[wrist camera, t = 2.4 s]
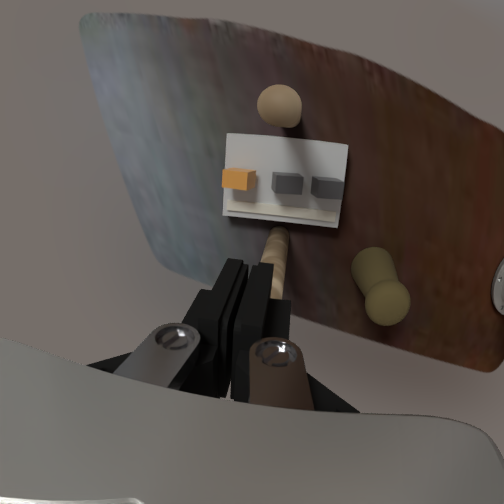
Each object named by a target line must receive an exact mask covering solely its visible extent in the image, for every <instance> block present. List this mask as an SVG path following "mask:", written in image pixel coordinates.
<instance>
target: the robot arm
mask: <svg viewBox="0 0 504 504" xmlns="http://www.w3.org/2000/svg"><path fill="white" fill-rule="evenodd" d="M273 270H274V264H272V263H264V262H259V264H258V266H256V265H253V266H252V269H251V272H250V275H249V278H248V265H247V264H243V260H239V259H230V258H228V259H227V261H226V263H225V265H224V267H223V269H222V271H221V273H220V275H219V277H218V279H217V281H216V283H215V285H214V287H213V288H212V290H205V289H201V290H200V291H199V293H198V294H197V296H196V298H195V300H194V301H193V303H192V305H191V307H190V309H189V310H188V312H187V314H186V316H185V317H184V319H183V321H182V323H168V324H164V325H161V326H159V327H157V328H156V329H155V330H153V331H152V332H151V333H150V334H149V335H148V337H147V338H146V339H145V340H144V341H143V342H142V343H141V344H140V345H139V346H138V347H137V348H136V349H135V350H134V351H133V352H130V353H127V354H124V355H120V356H117V357H113V358H110V359H106V360H103V361H99V362H96V363H92V364H89V365H86V366H85V365H82V364H79V363H76V362H73V361H70V360H68V359H65V358H62V357H59V356H56V355H53V354H50V353H48V352H45V351H42V350H39V349H37V348H33V347H31V346H28V345H25V344H23V343H20V342H16V341H13V340H9V339H6V338H0V504H504V459H503V457H502V455H501V453H500V451H499V449H498V447H497V446H496V444H495V443H494V442H493V440H492V439H491V438H490V437H489V436H488V435H487V434H486V433H485V432H484V431H482V430H481V429H479V428H477V427H475V426H472V425H470V424H467V423H464V422H460V421H456V420H453V419H449V418H442V417H435V416H427V415H413V414H373V413H360V412H359V411H358V410H356V409H355V408H354V407H352V406H351V405H350V404H348V403H347V402H346V401H344V400H343V399H341V398H340V397H339V396H337V395H336V394H335V393H333V392H332V391H331V390H329V389H328V388H327V387H325V386H324V385H323V384H321V383H320V382H319V381H317V380H316V379H315V378H313V377H312V376H311V375H310V374H308V373H307V372H306V368H305V363H304V358H303V354H302V351H301V349H300V348H299V347H298V346H297V345H296V344H295V343H293V342H291V341H290V340H289V325H290V311H291V301H290V300H281V299H273V298H271V289H272V279H273ZM491 296H492V301H493V304H494V306H495V308H496V309H497V310H498V311H499V312H500V313H501V314H503V315H504V259H503V260H502V262H501V263H500V265H499V267H498V269H497V271H496V273H495V276H494V278H493V283H492V289H491ZM230 381H231V395H230V397H231V399H234V401H230V400H224V399H220V397H223V398H226V395H227V392H228V388H229V385H230Z"/></svg>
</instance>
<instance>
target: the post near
mask: <svg viewBox="0 0 504 504" xmlns="http://www.w3.org/2000/svg"><path fill="white" fill-rule="evenodd" d="M257 107H258V112H259V114H260V116H261V118H262V119H263V120H264V121H265V122H267V123H268V124H270V125H272V126H277V127H287V128H292V127H295V126H297V125H298V124H299V122H300V119H301V108H302V104H301V100H300V97H299V95H298V94H297V93H296V92H295V91H294V90H293V89H292V88H290V87H288V86H285V85H273V86H270V87H268V88H267V89H265V90H264V91H263V92H262V93H261V95H260V97H259V99H258V104H257Z"/></svg>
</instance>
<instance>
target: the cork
mask: <svg viewBox="0 0 504 504" xmlns="http://www.w3.org/2000/svg"><path fill="white" fill-rule="evenodd" d="M351 274H352V277H353V279H354V281H355V282H356V284H357V285H358V287H359V288H360V290H361V292H362V293H363V295H364V296H365V298H366V299H365V309H366V313H367V314H368V316H369V318H370V319H371V320H372V321H373V322H374V323H376V324H379V325H382V326H391V325H395V324H397V323H398V322H400V321H401V320H402V319H404V318H405V316H406V314H407V313H408V311H409V308H410V295H409V293H408V291H407V289H406V287H405V286H404V285H402V284H401V283H400V282H399V280H398V277H397V273H396V270H395V266H394V263H393V260H392V257H391V255H390V254H389V253H388V252H387V251H386V250H384V249H382V248H378V247H371V248H366V249H364V250H363V251H361V252H359V253H358V254H357V255H356V256H355V258H354V260H353V262H352V265H351Z"/></svg>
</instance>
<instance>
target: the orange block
mask: <svg viewBox="0 0 504 504" xmlns="http://www.w3.org/2000/svg"><path fill="white" fill-rule="evenodd" d="M255 181H256V170H250V169H242V168H233V167H232V168H228V169H223V178H222V187H225V188H232V189H239V190H246V191H247V190H249V189H252V188H255Z"/></svg>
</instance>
